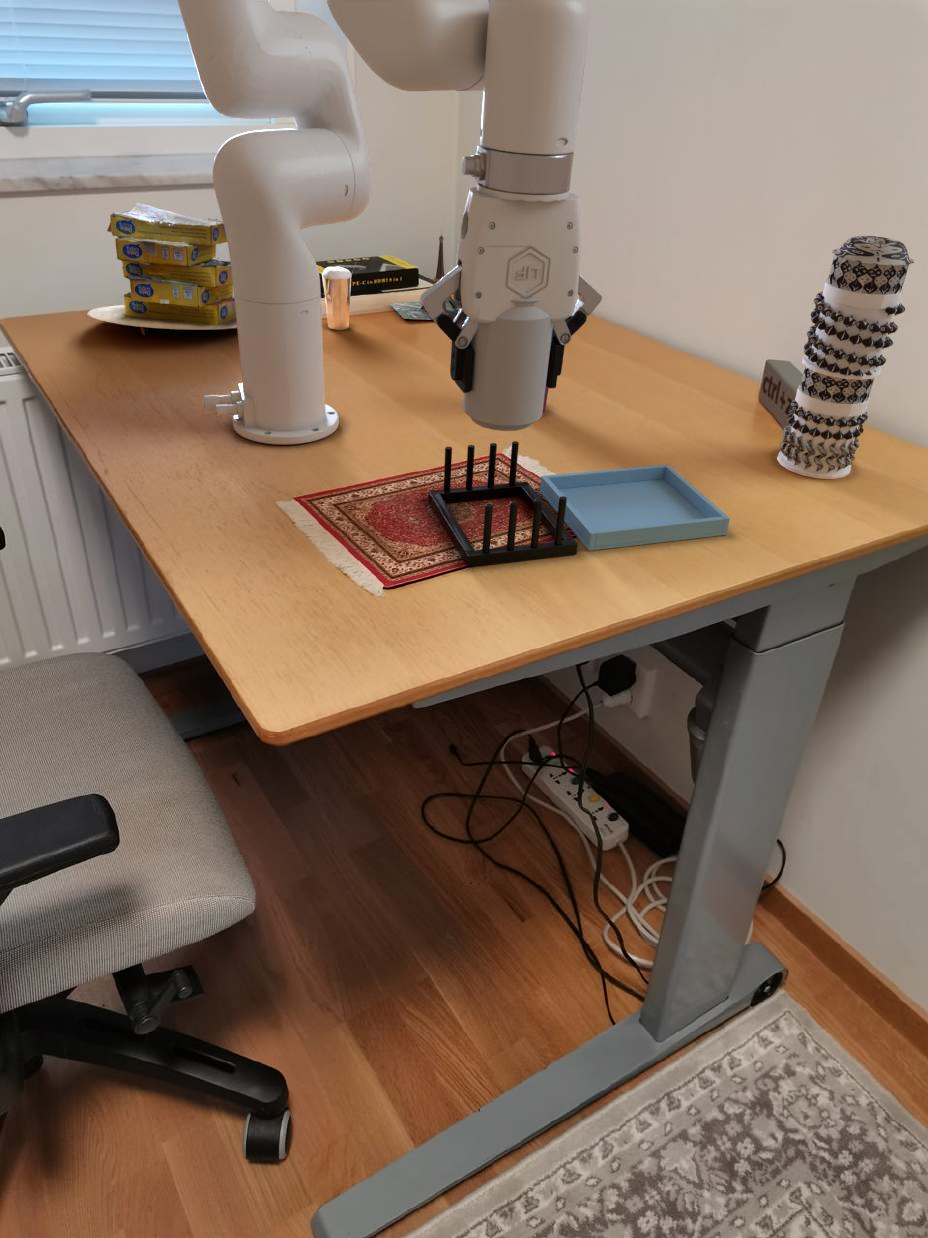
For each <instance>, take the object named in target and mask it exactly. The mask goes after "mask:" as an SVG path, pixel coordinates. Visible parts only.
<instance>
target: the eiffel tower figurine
mask: <svg viewBox="0 0 928 1238" xmlns="http://www.w3.org/2000/svg"><path fill="white" fill-rule="evenodd" d="M438 241H439V243H438V244H439V245H438V246H439V247H438V256H437V265H436V273H435V278H433V279H434V281H433V285H434V284H435V283H436V282H438V281H439V280H440V279H442V278H443V277H444V276H445V275H446V274H445V265H444V236H443V230H442V228H441V231H440V236H439V238H438ZM433 285H432V286H433ZM389 304H390V306H391V307H392V308H393V310H395V311H396V312H397V313H398V315H399V316H401V318H402V319H406V320H407V319H409V320H433V319H432V317H431V316H430V314H429V313H428V312H427V310H426V309H425V307H424V306H423V304H422V303H421V301H405V302H393V303H389ZM443 308H444V310H445V312H446V313H447V314H448V316H449V317H450V318H451V319H455V317H456V316H457V314H458V312H459V311H460V309H461V308H460V307H459V306H457V305H456V304H455V302H454V298H453V297H452V295H451V296H450V297H449V298H447V299H446V300H445V301H444V302H443Z"/></svg>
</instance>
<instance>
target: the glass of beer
mask: <svg viewBox="0 0 928 1238" xmlns="http://www.w3.org/2000/svg"><path fill="white" fill-rule="evenodd" d="M356 265H357V262H356V261H355V264H354V268H353V270H352V272H351V271H350V270H349V269H348V268H345V267H342V266H340V265H339V266H327V267H326V268H325V269H324V270H323V271H322V273H321V278H322V287H323V293H324V300H325V301H324V302H325V311H326V319H327V327H328V329H331V330H335V331H336V330H337V331H342V330H343V331H344V330H346V329H349V328H350V309H351V307H350V306H351V290H352V278H353V277H352V275H353V273H354V270H355V267H356Z"/></svg>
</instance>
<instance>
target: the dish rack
mask: <svg viewBox="0 0 928 1238" xmlns="http://www.w3.org/2000/svg"><path fill="white" fill-rule="evenodd" d="M519 445H520V443H519V441H516V440H513V441H512V442H511V449H510V450H511V452H510V461H509V463H510V464H509V477H508V482H507V483H496V484H495V477H496V476H495V475H496V462H497V448H498V444H497V443H496V442H490V444H489V452H488V453H489V455H488V468H487V469H488V471H487V484H485V485H484V484H483V485H476V486H473V485H474V484H473V481H474V465H475V463H474V462H475V450H476V449H475V445H474V444H468V445H467V453H466V471H465V472H466V473H465V486H463V487H453V488H452V487H451V482H452V460H453V459H452V458H453V447H452V446H445V448H444V467H443V470H444V471H443V488H442V489H431V490H428V491H427V501H428V504H429V505H430V507H431V508H432V510H433V511H434V513H435V515H436V517H437V518H438V520H439V522H440V524H441V525H442V527H443V529H444V530H445V532H446V534H447V535H448V537H449V539H450V540H451V542H452V545H454V547H455V549H456V550H457V552H458V554H459V555H460V557H461V560H463V562H464V564H465V566H466V567H467V568H472V567H473V568H474V567H482V566H490V565H498V564H507V563H516V562H524V561H525V562H526V561H533V560H541V559H549V558H559V557H566V556H575V555H577V554H578V548H579V543H578V542H577V540H576V539H575V538H574V537H573V535H571V533H569V531H568V530H567V529H566V527H565V522H564V519H565V511H566V503H567V497H565V496H561V497H560V498H559V506H558V513H556V514H557V516H556V515H555V514H554V513H553V511H552V510H551V509H550V507H548V505H547V503H545V502H544V501H543V499H542V498H541V496H539V494H538V493H537V492H536V491H535V490H534V488H533V487H532V485H531V484H529V482H528V481H516V480H517V470H518V469H517V468H518V457H519ZM513 497H514V498H515V497H521V499H522V500H523V501H524V502H525V503H526V505H527V506H528V507H529V509H530V510H531V511H532V513H533V516H532V517H533V518H532V519H533V520H532V528H531V538H530V543H528V544H519V545H515V543H516V530H517V519H518V509H519V501H516V500H514V501H513V500H512V501H510V503H509V515H508V526H507V538H506V546H500V547H494V548H492V547H491V542H492V541H491V540H492V539H491V538H492V525H493V514H494V513H493V511H494V510H493V509H494V505H493V504H492V503H485V505H484V517H483V519H484V520H483V533H482V548H481V549H475V548H474V546H473V545H472V543H471V542H470V540H469V538H468V537H467V535H466V533H465V532H464V531H463V529H462V527H461V526H460V523H459V522H458V521H457V519H456V518H455V516H454V514H453V513H452V511H451V509H450V508H449V506H448V505H447V504H453V503H462V502H472V501H473V502H474V501H484V500H494V499H504V498H513ZM541 524H542V525H543V527H544V528H545V529H546V530H547V532H548V533H549V534H550V535H551V536H552V538H553V539H554V541H545V542H539V541H540V531H541Z"/></svg>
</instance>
